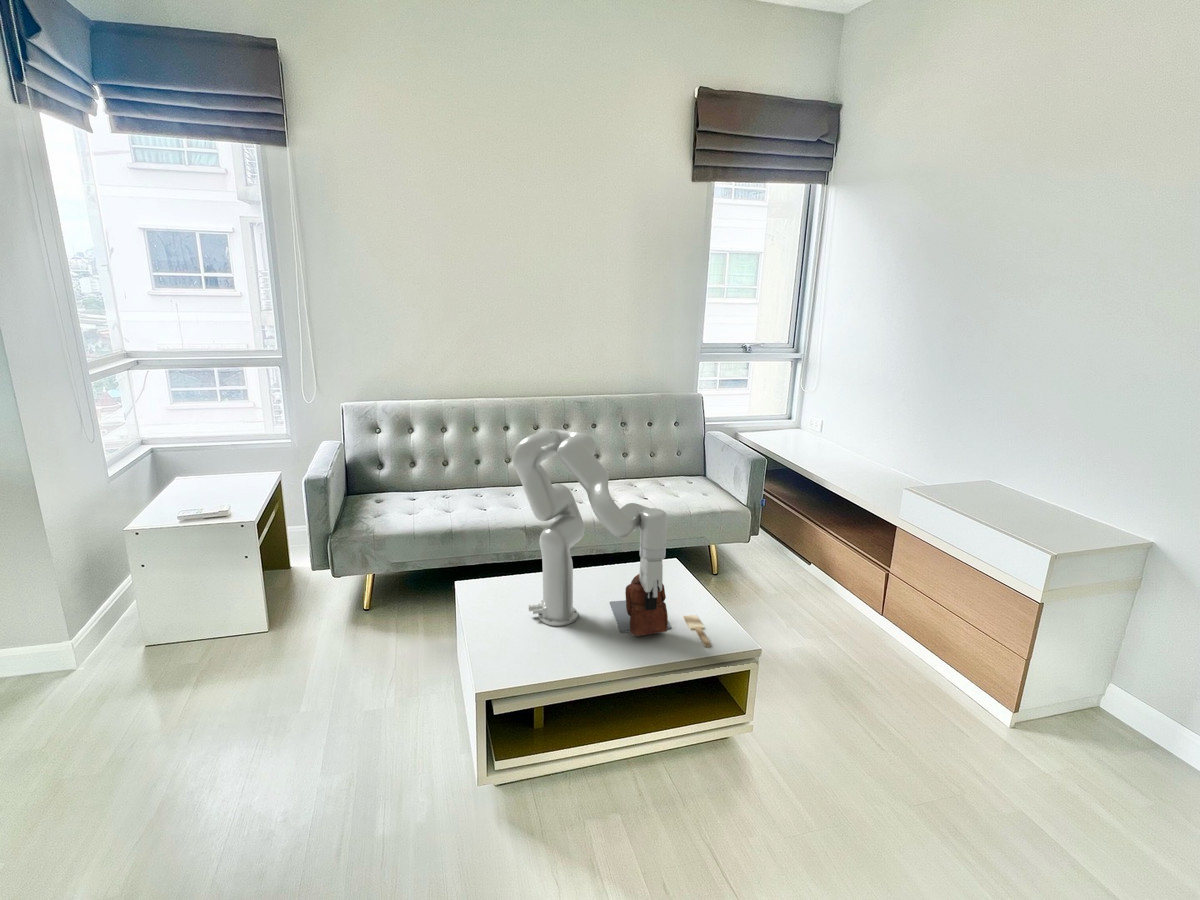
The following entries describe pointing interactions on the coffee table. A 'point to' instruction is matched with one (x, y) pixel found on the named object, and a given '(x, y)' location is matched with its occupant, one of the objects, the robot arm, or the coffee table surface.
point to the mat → (623, 615)
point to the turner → (697, 628)
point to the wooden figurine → (639, 616)
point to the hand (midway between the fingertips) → (650, 608)
